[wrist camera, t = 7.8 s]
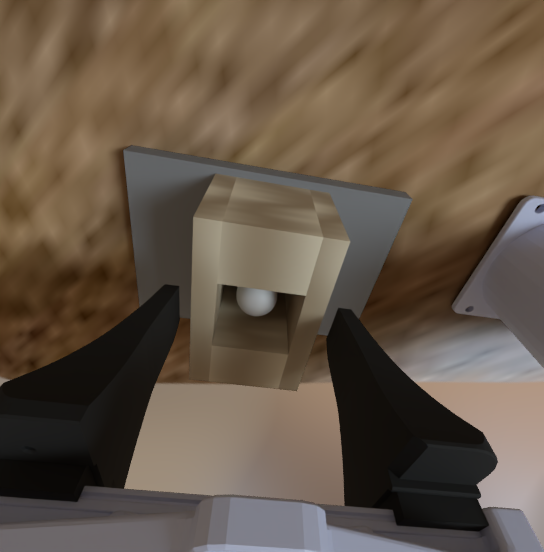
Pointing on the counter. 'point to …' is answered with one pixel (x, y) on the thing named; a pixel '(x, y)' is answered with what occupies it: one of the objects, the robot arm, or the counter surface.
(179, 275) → the pin board
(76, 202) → the counter surface
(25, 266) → the counter surface
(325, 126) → the counter surface
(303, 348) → the hollow block
